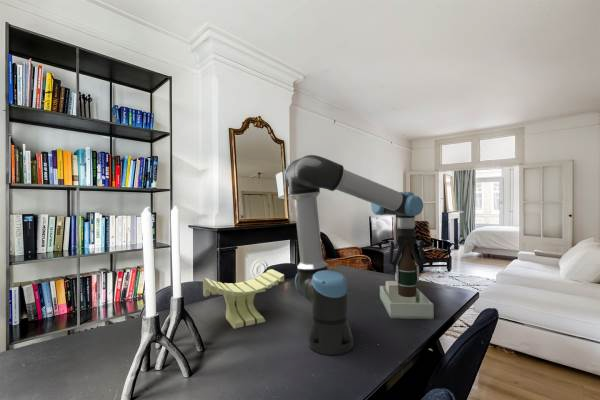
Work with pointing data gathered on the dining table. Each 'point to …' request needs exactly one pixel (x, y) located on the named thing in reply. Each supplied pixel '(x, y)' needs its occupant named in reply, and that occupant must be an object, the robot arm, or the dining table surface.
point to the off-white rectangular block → (393, 293)
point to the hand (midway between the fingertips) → (407, 280)
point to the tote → (408, 307)
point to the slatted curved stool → (242, 297)
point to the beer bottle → (407, 273)
